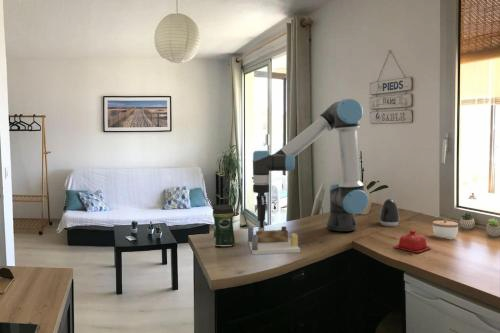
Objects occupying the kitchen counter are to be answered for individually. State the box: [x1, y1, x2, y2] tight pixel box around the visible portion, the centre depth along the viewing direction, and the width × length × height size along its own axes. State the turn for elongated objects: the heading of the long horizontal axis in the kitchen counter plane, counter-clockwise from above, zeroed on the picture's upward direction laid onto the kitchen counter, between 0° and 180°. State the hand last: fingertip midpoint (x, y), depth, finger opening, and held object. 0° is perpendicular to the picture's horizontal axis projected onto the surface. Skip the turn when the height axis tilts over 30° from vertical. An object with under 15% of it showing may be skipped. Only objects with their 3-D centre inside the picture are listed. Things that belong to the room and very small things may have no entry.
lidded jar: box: [432, 218, 459, 241], centre depth 179 cm, size 11×11×9 cm
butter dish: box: [393, 229, 432, 254], centre depth 163 cm, size 12×12×8 cm
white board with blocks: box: [247, 227, 301, 255], centre depth 168 cm, size 20×18×8 cm
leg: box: [255, 226, 289, 243], centre depth 173 cm, size 14×3×6 cm, turn 97°
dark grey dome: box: [379, 198, 401, 227], centre depth 207 cm, size 10×10×15 cm
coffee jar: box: [212, 204, 236, 246], centre depth 173 cm, size 10×8×19 cm
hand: (261, 233), depth 180 cm, fingers closed
